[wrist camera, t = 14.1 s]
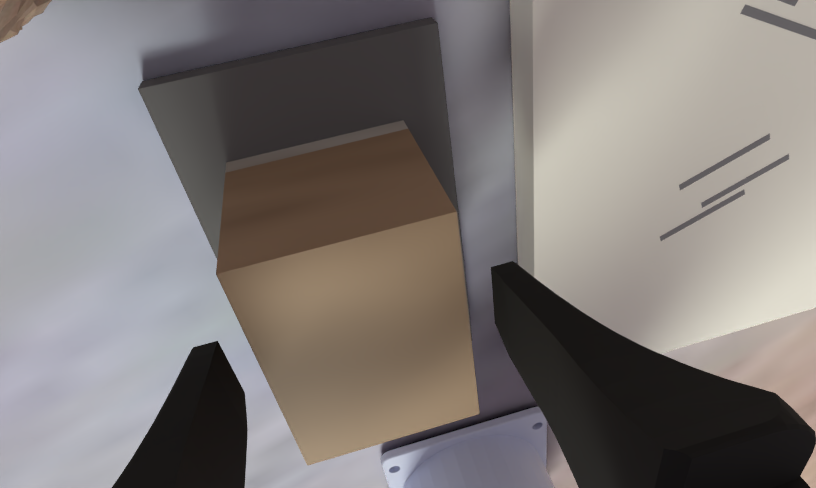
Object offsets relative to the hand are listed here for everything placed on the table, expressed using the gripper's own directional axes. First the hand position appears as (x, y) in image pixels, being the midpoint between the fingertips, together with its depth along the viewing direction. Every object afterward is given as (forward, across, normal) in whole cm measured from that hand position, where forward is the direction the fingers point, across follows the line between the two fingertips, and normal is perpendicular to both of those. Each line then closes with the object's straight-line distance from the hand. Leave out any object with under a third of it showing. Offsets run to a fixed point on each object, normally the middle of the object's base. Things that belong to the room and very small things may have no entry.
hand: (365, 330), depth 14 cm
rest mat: (+4, 0, 0) cm, 5 cm away
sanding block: (+4, 0, 0) cm, 4 cm away
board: (+4, -13, 0) cm, 14 cm away
